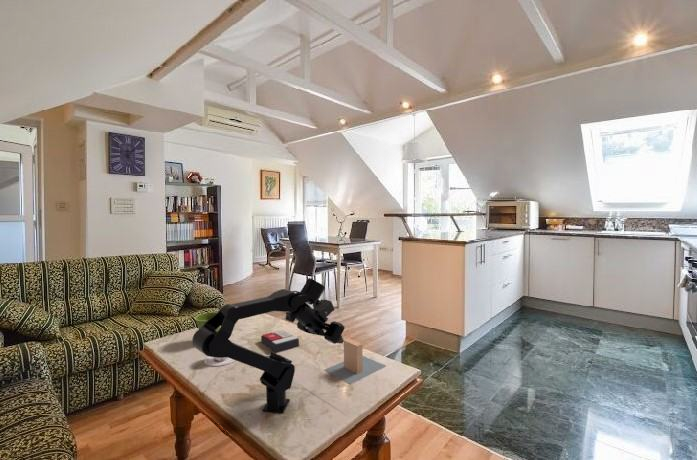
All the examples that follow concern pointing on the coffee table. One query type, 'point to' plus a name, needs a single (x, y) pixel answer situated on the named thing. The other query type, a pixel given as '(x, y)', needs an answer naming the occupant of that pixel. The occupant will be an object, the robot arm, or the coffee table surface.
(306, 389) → the coffee table surface
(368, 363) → the mat
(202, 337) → the robot arm
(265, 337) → the red and grey box
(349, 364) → the peach rectangular block
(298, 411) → the coffee table surface
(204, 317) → the plant pot
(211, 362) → the teacup
